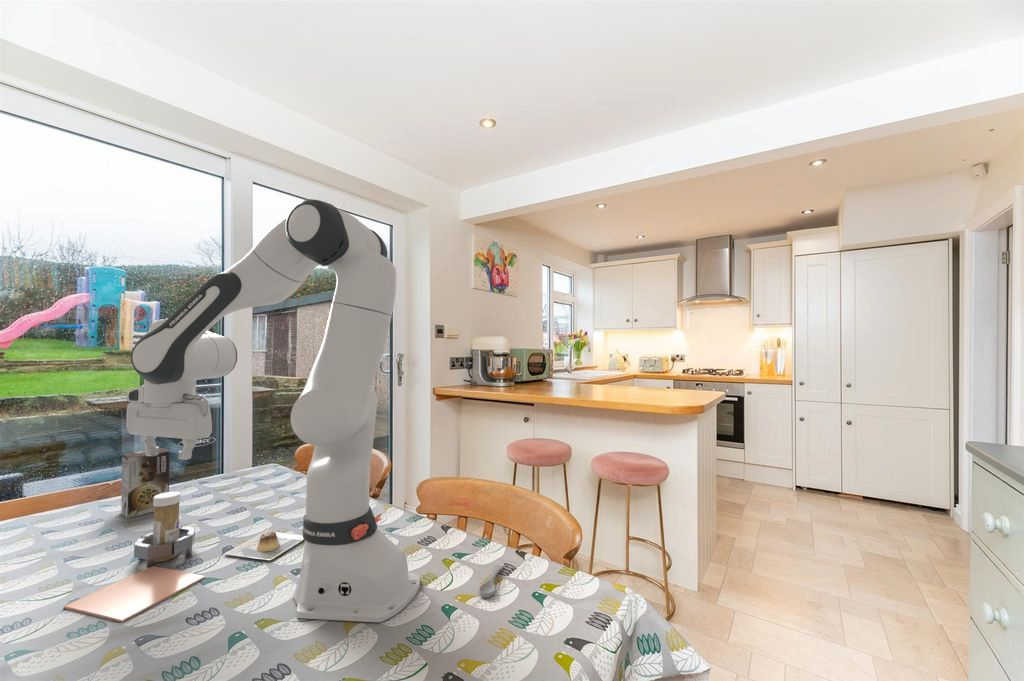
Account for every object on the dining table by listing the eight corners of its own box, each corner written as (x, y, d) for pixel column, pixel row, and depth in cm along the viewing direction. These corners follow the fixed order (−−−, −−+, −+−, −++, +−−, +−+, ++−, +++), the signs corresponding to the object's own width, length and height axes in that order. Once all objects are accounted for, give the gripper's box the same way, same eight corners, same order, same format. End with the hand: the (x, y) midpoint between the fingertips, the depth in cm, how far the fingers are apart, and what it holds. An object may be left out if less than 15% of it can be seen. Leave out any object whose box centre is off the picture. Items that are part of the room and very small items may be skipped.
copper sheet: (205, 578, 82) (205, 576, 82) (122, 622, 69) (122, 620, 69) (152, 567, 86) (152, 565, 86) (63, 608, 72) (63, 605, 72)
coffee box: (162, 503, 122) (163, 447, 122) (169, 508, 118) (171, 450, 119) (119, 513, 115) (121, 453, 115) (126, 518, 111) (128, 457, 111)
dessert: (266, 535, 103) (266, 515, 103) (309, 540, 100) (309, 520, 100) (222, 559, 91) (223, 536, 91) (270, 565, 88) (270, 542, 89)
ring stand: (204, 550, 94) (204, 529, 94) (158, 571, 84) (158, 549, 85) (172, 544, 96) (172, 524, 96) (123, 565, 87) (124, 543, 87)
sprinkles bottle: (177, 559, 90) (179, 495, 90) (149, 564, 87) (151, 499, 88) (180, 550, 94) (181, 489, 94) (153, 555, 91) (155, 493, 91)
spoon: (476, 600, 76) (476, 588, 76) (491, 571, 88) (492, 561, 88) (492, 602, 75) (492, 590, 76) (505, 573, 87) (506, 562, 87)
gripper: (221, 393, 92) (219, 457, 91) (152, 390, 97) (150, 450, 97) (192, 396, 86) (190, 465, 85) (120, 392, 91) (117, 457, 91)
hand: (168, 457), depth 91 cm, fingers open, 8 cm apart
